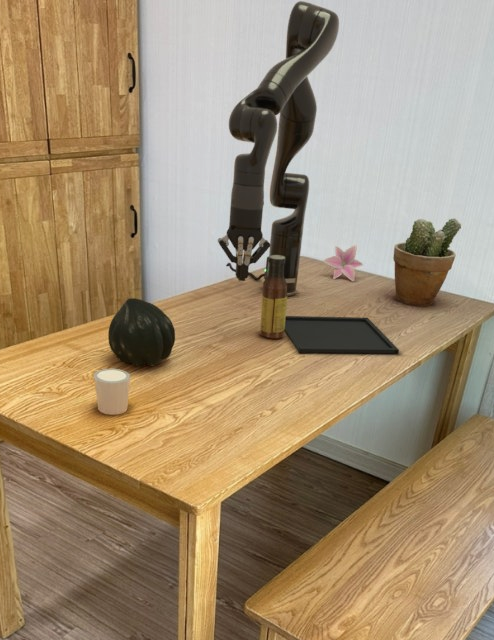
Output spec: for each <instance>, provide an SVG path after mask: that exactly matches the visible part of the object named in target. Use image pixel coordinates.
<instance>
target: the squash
mask: <svg viewBox="0 0 494 640" xmlns="http://www.w3.org/2000/svg"><path fill="white" fill-rule="evenodd" d="M107 335H108V346H109V349H110V350H111V351H112V353H113V354H114V355H115V356H116V358H117V359H118V360H119V361H120V362H123V363H126V364H132V365H133V366H134V367H143V366H144V365H145V364H146V365H147V366H149V367H154V366H157V365H158V364H159V363H160V361H164V360H166V359H168V358H169V357H170V356H171V354H172V350H173V347H174V346H175V342H176V331H175V326H174V324H173V322H172V320H171V318H170V317H169V316H168V315H167V314H166V313H165V312H164V311H163V310H161V308H159V307H158V306H157V305H155V304H154V303H151V302H148V301H146V300H144V299H143V300H142V299H139V298H134V297H128V298H127V299H126V300H125V301H124V303H123V304H122V306H121V307H120V308H119V310H118V311H117V312H116V313H115V315H114V316H113V317H112V319H111V321H110V324H109V327H108V334H107Z"/></svg>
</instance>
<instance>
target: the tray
mask: <svg viewBox="0 0 494 640" xmlns="http://www.w3.org/2000/svg"><path fill="white" fill-rule="evenodd" d="M284 333H286V335H287V337H288V338H289V340H290V341H291V343H292V344H293V345H294V348H295V349H296V350H297V351H298V353H299V354H326V355H327V354H331V355H334V354H336V355H339V354H340V355H399V352H400V349H399V348H398V347H397V346H396V345H395V344H394V343H393V342H392V341H391V340H390V339H389V338H388V337H387V336H386V335H385V334H384V333H383V332H382V331H381V330H380V329H379V328H378V326H377V325H375V324H374V322H372V320H371V319H370V318H368V317H353V316H350V317H349V316H347V317H346V316H313V315H311V316H310V315H308V316H307V315H306V316H305V315H286V318H285V330H284Z"/></svg>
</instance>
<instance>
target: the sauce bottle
mask: <svg viewBox="0 0 494 640" xmlns="http://www.w3.org/2000/svg"><path fill="white" fill-rule="evenodd" d="M268 256H269V255H268ZM284 264H285V257H284V256H280V255H271V256H269V272H268V276H267V278H266V279H264V281H263V284H262V297H261V313H260V335H261V336H262V337H263V338H267V339H271V340H272V339H273V340H278V339H282V338H283V337H284V335H285V318H286V316H287V305H288V304H287V303H288V302H287V301H288V296H287V283H286V280H285V277H284Z"/></svg>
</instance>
